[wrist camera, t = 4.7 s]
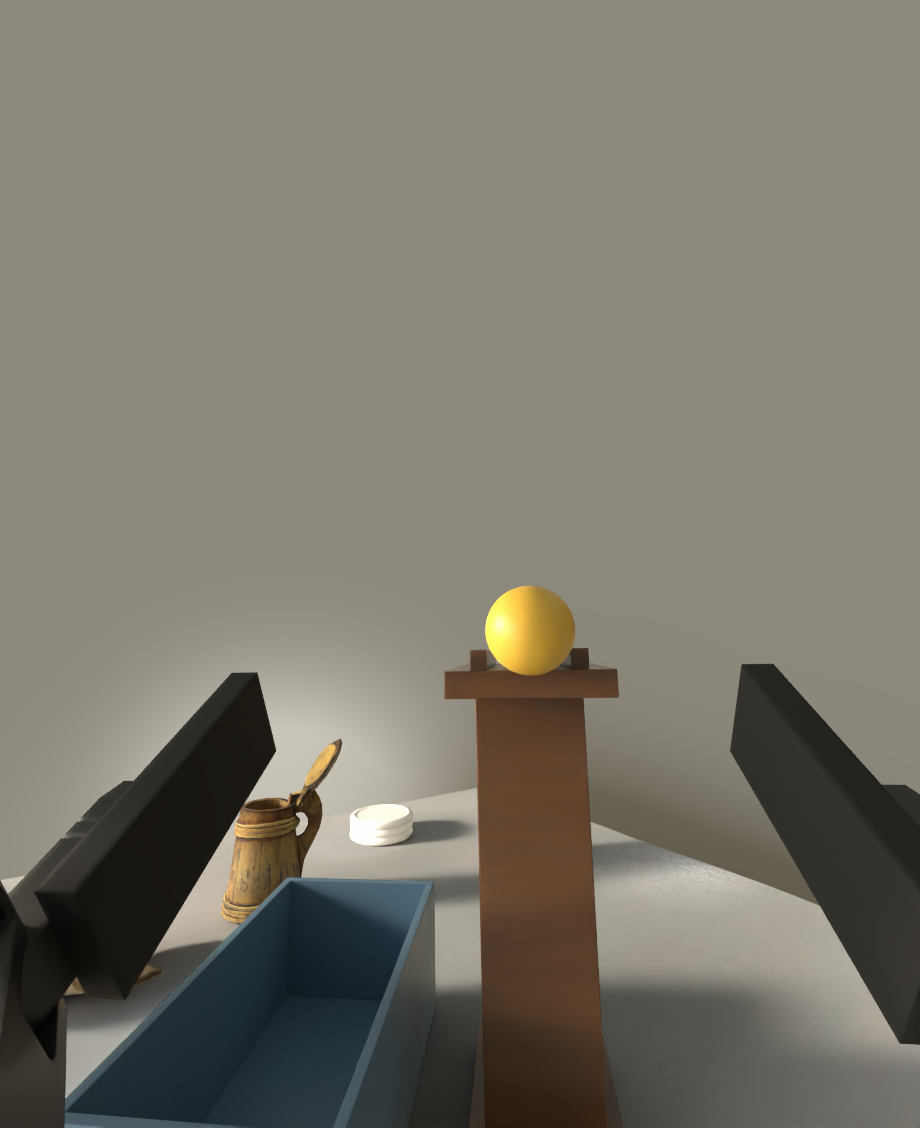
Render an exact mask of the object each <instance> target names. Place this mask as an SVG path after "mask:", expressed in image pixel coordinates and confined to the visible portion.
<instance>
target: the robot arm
mask: <svg viewBox="0 0 920 1128" xmlns="http://www.w3.org/2000/svg"><path fill="white" fill-rule="evenodd" d="M275 752H276V748H275V744H274V739H273V735H272V731H271V727H270V723H269V719H268V715H267V711H266V706H265V702H264V698H263V694H262V690H261V686H260V682H259V678H258V674H257V673H231V674H230V675H229V677H228V678H227V679H226V680H225V681H224V682H223V683H222V684H221V685H220V687H219V688H218V689H217V690H216V691H215V692H214V693H213V694H212V695H211V697H209V699H208V700H207V701H206V702H205V703H204V704H203V705H202V706H201V707H200V709H199V710H198V711H197V712H196V713H195V714H194V715H193V716H192V717H191V718H190V720H189V721H188V722H187V723H186V724H185V725H184V726H183V727H182V728H181V729H180V731H179V732H178V733H177V734H176V735H175V736H174V737H173V738H172V739H171V740H170V742H169V743H168V744H167V745H166V746H165V747H164V748H163V749H162V750H161V751H160V753H159V754H158V755H157V756H156V757H155V758H154V759H153V760H152V761H151V763H150V764H149V765H148V766H147V767H146V768H145V769H144V770H143V771H142V773H141V774H140V775H139V776H138V777H137V778H136V779H135V780H134V781H123V782H122V783H121V784H119V785H118V786H117V787H115V788H114V789H112V790H111V791H109V792H108V793H106V794H105V795H104V796H102V797H101V798H99V799H98V801H97V802H96V803H95V804H94V805H93V806H92V807H91V808H90V809H89V810H88V811H87V812H86V813H85V814H84V815H83V816H82V817H81V821H80V822H77V823H76V824H75V825H74V826H73V827H72V828H71V829H70V830H69V831H68V832H67V833H66V836H65V838H64V839H60V840H59V842H58V843H57V844H56V845H55V846H54V847H53V848H52V849H51V850H50V851H49V852H48V853H47V854H46V855H45V856H44V857H43V858H42V859H41V860H40V862H39V863H38V864H37V865H36V866H35V867H34V868H33V869H32V870H31V871H30V872H29V873H28V874H27V875H26V876H25V877H24V878H23V879H22V880H21V881H20V883H19V884H18V885H17V886H16V887H15V888H14V889H13V890H12V891H11V892H10V893H9V894H7V892H6V890H5V888H4V886H3V885H2V883H1V881H0V1128H65V1080H66V1030H67V1009H66V1006H65V1002H64V1000H63V998H62V997H63V995H64V994H65V992H66V991H67V989H68V988H69V987H70V985H71V984H72V982H73V981H74V980H75V978H76V977H77V979H78V981H79V983H80V985H81V987H82V989H83V991H84V993H85V995H86V996H87V998H101V999H119V1000H125V999H126V998H127V996H128V995H129V993H130V991H131V990H132V988H133V986H134V985H135V983H136V981H137V980H138V978H139V976H140V975H141V973H142V971H143V970H144V968H145V966H146V965H147V963H148V962H149V960H150V958H151V957H152V955H153V953H154V952H155V950H156V948H157V947H158V945H159V943H160V942H161V940H162V938H163V937H164V935H165V933H166V932H167V930H168V929H169V927H170V925H171V924H172V922H173V920H174V919H175V917H176V915H177V914H178V912H179V910H180V909H181V907H182V905H183V904H184V902H185V901H186V899H187V897H188V896H189V894H190V892H191V891H192V889H193V887H194V886H195V884H196V882H197V881H198V879H199V877H200V876H201V874H202V872H203V871H204V869H205V868H206V866H207V864H208V863H209V861H210V859H211V858H212V856H213V854H214V853H215V851H216V849H217V848H218V846H219V844H220V843H221V841H222V839H223V838H224V836H225V834H226V833H227V831H228V830H229V828H230V826H231V824H232V823H233V821H234V820H235V818H236V816H237V815H238V813H239V811H240V810H241V808H242V807H243V805H244V803H245V801H246V800H247V798H248V797H249V795H250V793H251V792H252V790H253V788H254V787H255V785H256V783H257V782H258V780H259V778H260V777H261V775H262V774H263V772H264V770H265V769H266V767H267V765H268V764H269V762H270V760H271V759H272V757H273V755H274V754H275ZM730 752H731V753H732V755H733V757H734V758H735V760H736V762H737V764H738V765H739V767H740V769H741V771H742V772H743V774H744V776H745V777H746V779H747V781H748V783H749V784H750V786H751V788H752V790H753V791H754V793H755V795H756V796H757V798H758V800H759V801H760V803H761V805H762V807H763V808H764V810H765V812H766V814H767V815H768V817H769V819H770V820H771V822H772V824H773V826H774V827H775V829H776V831H777V833H778V834H779V836H780V838H781V840H782V841H783V842H784V845H785V846H786V848H787V850H788V852H789V853H790V855H791V857H792V858H793V860H794V862H795V864H796V865H797V867H798V869H799V870H800V872H801V874H802V876H803V877H804V879H805V881H806V883H807V884H808V886H809V888H810V889H811V891H812V893H813V895H814V896H815V898H816V900H817V902H818V903H819V905H820V907H821V908H822V910H823V912H824V914H825V915H826V917H827V919H828V921H829V922H830V924H831V926H832V927H833V929H834V931H835V933H836V934H837V936H838V938H839V939H840V941H841V943H842V945H843V946H844V948H845V950H846V952H847V953H848V955H849V957H850V958H851V960H852V962H853V964H854V965H855V967H856V969H857V971H858V972H859V974H860V976H861V977H862V979H863V981H864V983H865V984H866V986H867V988H868V989H869V991H870V993H871V995H872V996H873V998H874V1000H875V1002H876V1003H877V1005H878V1007H879V1008H880V1010H881V1012H882V1014H883V1015H884V1017H885V1019H886V1021H887V1022H888V1024H889V1026H890V1027H891V1029H892V1031H893V1033H894V1034H895V1036H896V1038H897V1039H898V1041H899V1043H900V1044H917V1045H920V794H918V793H917V792H915V791H914V790H912V789H911V788H909V787H908V786H906V785H881V784H880V783H879V781H878V780H877V779H876V778H875V777H874V776H873V775H872V774H871V772H869V770H868V769H867V768H866V767H865V766H864V765H863V764H862V763H861V761H860V760H859V759H858V758H857V757H856V756H855V755H854V754H853V752H852V751H851V750H850V749H849V748H848V747H847V746H846V745H845V744H844V743H843V741H842V740H841V739H840V738H839V737H838V736H837V735H836V734H835V732H834V731H833V730H832V729H831V728H830V727H829V726H828V725H827V723H826V722H825V721H824V720H823V719H822V718H821V717H820V716H819V714H818V713H817V712H816V711H815V710H814V709H813V708H812V707H811V706H810V704H809V703H808V702H807V701H806V700H805V699H804V698H803V697H802V696H801V695H800V694H799V692H798V691H797V690H796V689H795V688H794V687H793V685H792V684H791V683H790V682H789V681H788V680H787V679H786V678H785V677H784V675H783V674H782V673H781V672H780V671H779V670H778V669H777V668H776V666H775V665H774V664H742V666H741V673H740V681H739V688H738V696H737V704H736V711H735V718H734V726H733V734H732V741H731V748H730Z"/></svg>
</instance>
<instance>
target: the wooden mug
mask: <svg viewBox="0 0 920 1128" xmlns="http://www.w3.org/2000/svg"><path fill="white" fill-rule="evenodd" d="M341 746H342V741H341V739H339V740H337V741H335V742H333V743H332V744H330V745H329V746H328V747H326V748H325V750H323V751H322V753H321V754H320V755H319V757H318V758H317V759H316V761H315V763H314V764H313V766H312V768H311V769H310V771H309V773H308V775H307V778H306V781H305V785H304V787H303V789H302V790H301V791H298V792H294V793H291V794H290V795H289V799H288V800H286V799H282V798H265V799H259V800H253V801H250V802H247V803H245V804H244V805H243V807H242V808H241V810H240V816H239V819H238V820H237V821H236V825H235V830H234V834H235V835H236V840H235V846H234V852H233V858H232V864H231V870H230V876H229V881H228V887H227V891H226V892H225V894H224V898H223V904H222V909H221V914H222V917H223V918H224V919H225V920H228V921H230V922H234V923H240V924H241V923H242V922H243V921H244V920H245V919H246V918H247V917H248V916H249V915H250V914H251V913H252V912H253V911H254V910H255V909H256V908H257V907H258V906H259V905H260V904H261V903H262V902H263V901H264V900H265V899H266V898H267V897H268V896H269V895H270V894H271V893H272V892H273V891H274V890H275V889H276V888H277V887H278V886H279V885H280V884H281V883H282V882H283V881H285V879H286V878H287V877H295V878H302V877H301V874H302V868H303V863H304V859H305V857H306V854H307V852H308V850H309V848H310V846H311V844H312V842H313V840H314V838H315V836H316V834H317V832H318V830H319V827H320V824H321V819H322V803H321V801H320V798H319V796H318V795H317V793H316V791H315V789H316V788H317V787H318V786H319V784H320V783H321V782H322V781H323V780H324V778H325V777H326V776H327V774H328V773H329V771H330V770H331V768H332V767H333V765H334V763H335V762H336V760H337V757H338V755H339V753H340V750H341ZM298 812H303V813H305V814H306V816H307V818H308V826H307V828H306V829H305V831H304V832H303V833H302V834H300V835H298V836H296V829H295V828H296V827H297V826H298V824H299V822H300V819H299V818H298V817H297V816H296V813H298Z"/></svg>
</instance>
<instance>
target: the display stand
mask: <svg viewBox="0 0 920 1128" xmlns="http://www.w3.org/2000/svg"><path fill="white" fill-rule="evenodd" d="M618 697H619V691H618V676H617V669H614V668H609V667H605V666H600V665H595V664H590V663H589V654H588V648H572V649H571V652H570V653H569V655H568V657H567V658H566V659H565V660H564V662H563V663H562V664H560V665H559V666H558V667H557V668H555V669H554V670H552V671H550V672H547V673H545V674H541V675H533V676H530V675H522V674H518V673H515V672H513V671H511V670H509V669H507V668H506V667H504V666H503V665H502V664H496V658H495V657H494V656H493V654H492V652H491V650H470V665H463V666H460V667H457V668H454V669H451V670H448V671H445V672H444V698H445V699H475V706H476V707H475V708H476V749H477V796H478V840H479V884H480V928H481V971H482V1015H483V1022H479V1028H478V1038H477V1048H476V1057H475V1067H474V1077H473V1087H472V1097H471V1107H470V1117H469V1126H468V1128H623V1126H622V1121H621V1116H620V1112H619V1107H618V1103H617V1098H616V1094H615V1089H614V1085H613V1080H612V1076H611V1071H610V1067H609V1062H608V1058H607V1053H606V1049H605V1044H604V1040H603V1035H602V1020H601V1002H600V984H599V967H598V949H597V931H596V913H595V895H594V877H593V859H592V841H591V824H590V806H589V788H588V771H587V752H586V735H585V716H584V699H583V698H618Z"/></svg>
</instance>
